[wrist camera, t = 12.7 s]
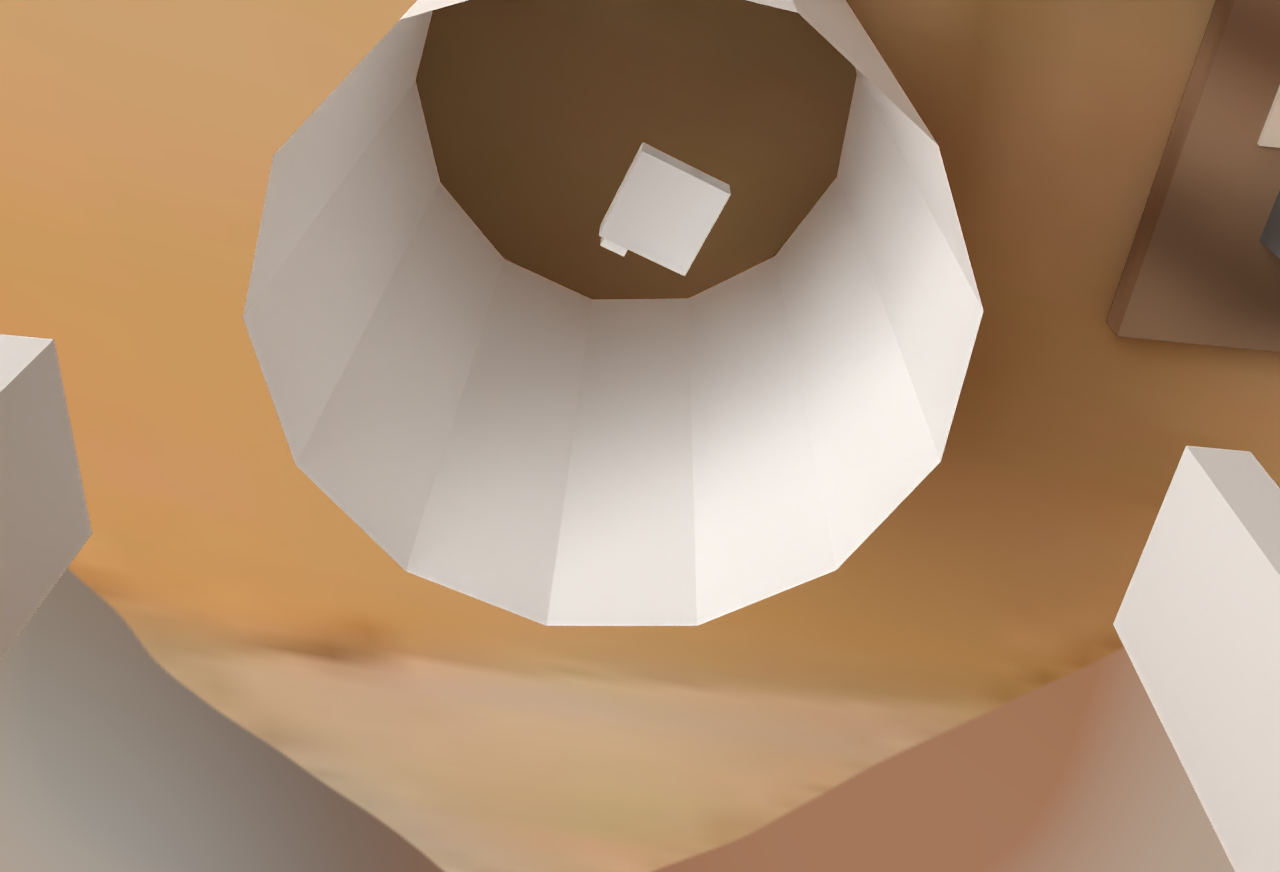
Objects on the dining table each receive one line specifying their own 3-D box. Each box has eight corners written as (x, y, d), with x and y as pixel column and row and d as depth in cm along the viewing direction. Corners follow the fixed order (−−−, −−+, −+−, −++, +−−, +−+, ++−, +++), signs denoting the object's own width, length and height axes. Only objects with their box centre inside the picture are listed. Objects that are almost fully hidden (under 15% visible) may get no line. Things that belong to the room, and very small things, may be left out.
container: (359, 190, 40) (165, 477, 25) (523, -238, 33) (394, -207, 18) (724, 358, 43) (753, 706, 28) (943, -1, 36) (1141, 199, 21)
